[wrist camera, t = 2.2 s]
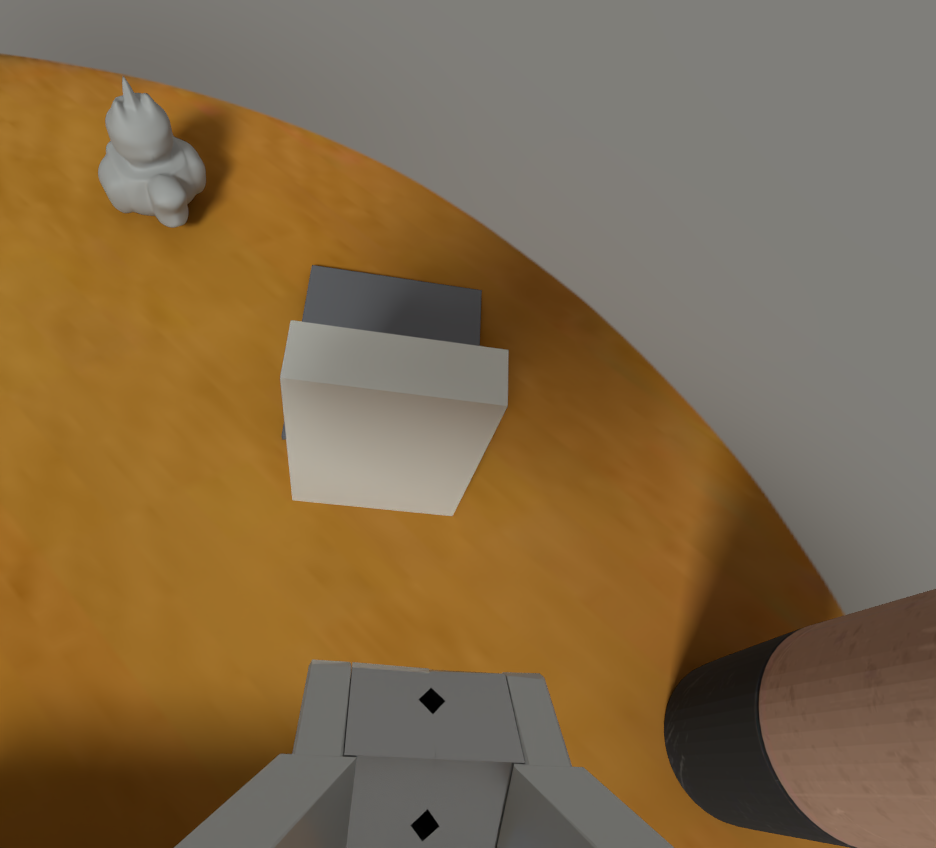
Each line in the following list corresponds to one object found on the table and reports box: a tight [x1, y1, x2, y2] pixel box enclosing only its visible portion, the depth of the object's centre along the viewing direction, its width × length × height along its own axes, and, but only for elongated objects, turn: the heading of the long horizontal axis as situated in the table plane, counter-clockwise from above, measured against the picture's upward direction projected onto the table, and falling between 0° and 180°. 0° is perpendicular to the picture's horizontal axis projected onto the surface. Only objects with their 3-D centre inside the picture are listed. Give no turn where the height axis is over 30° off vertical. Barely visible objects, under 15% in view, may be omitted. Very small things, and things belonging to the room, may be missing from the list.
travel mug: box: [664, 589, 936, 848], centre depth 24 cm, size 8×8×20 cm
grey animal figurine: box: [98, 76, 206, 227], centre depth 37 cm, size 5×7×8 cm
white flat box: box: [280, 320, 508, 516], centre depth 30 cm, size 8×3×12 cm, turn 88°
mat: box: [282, 265, 482, 439], centre depth 39 cm, size 10×11×1 cm
